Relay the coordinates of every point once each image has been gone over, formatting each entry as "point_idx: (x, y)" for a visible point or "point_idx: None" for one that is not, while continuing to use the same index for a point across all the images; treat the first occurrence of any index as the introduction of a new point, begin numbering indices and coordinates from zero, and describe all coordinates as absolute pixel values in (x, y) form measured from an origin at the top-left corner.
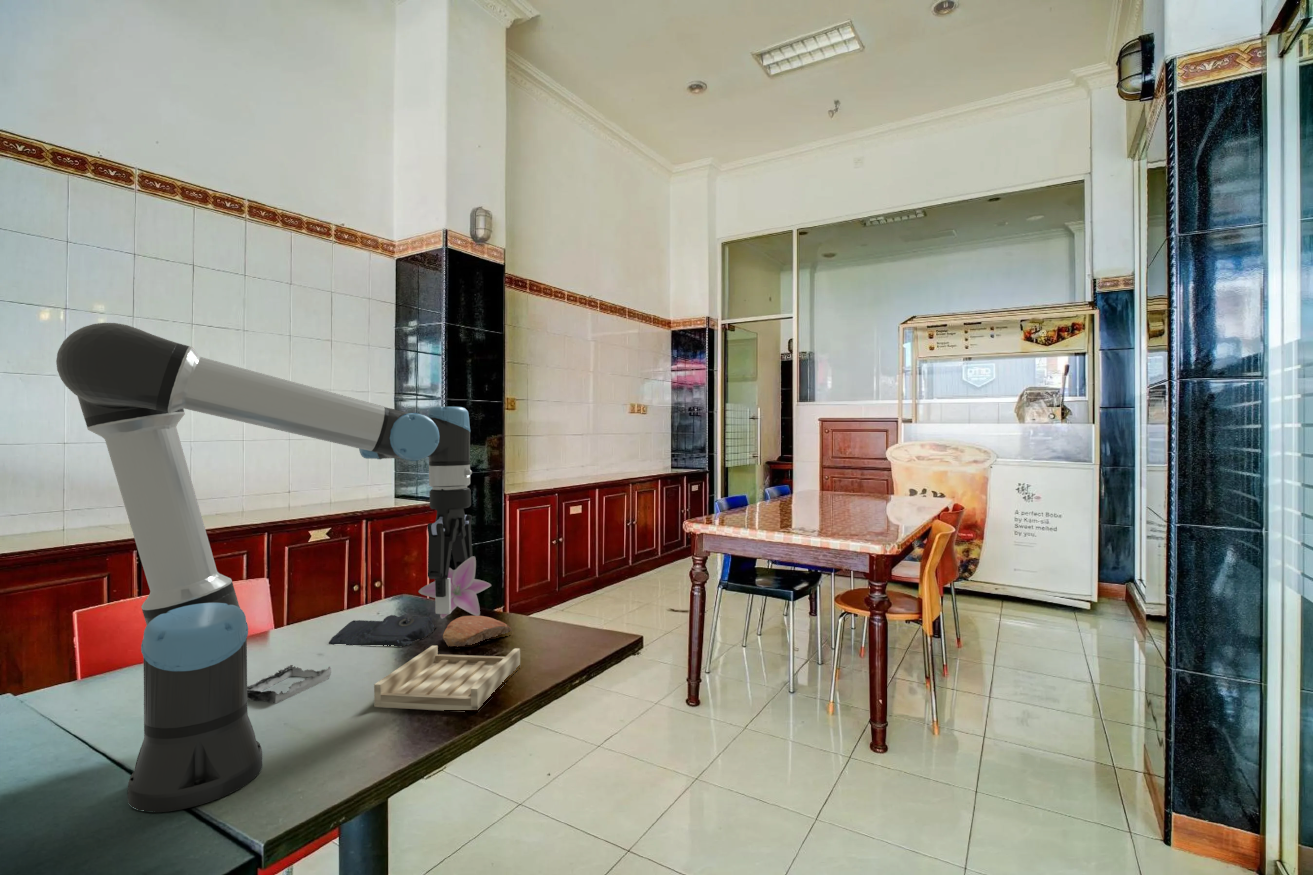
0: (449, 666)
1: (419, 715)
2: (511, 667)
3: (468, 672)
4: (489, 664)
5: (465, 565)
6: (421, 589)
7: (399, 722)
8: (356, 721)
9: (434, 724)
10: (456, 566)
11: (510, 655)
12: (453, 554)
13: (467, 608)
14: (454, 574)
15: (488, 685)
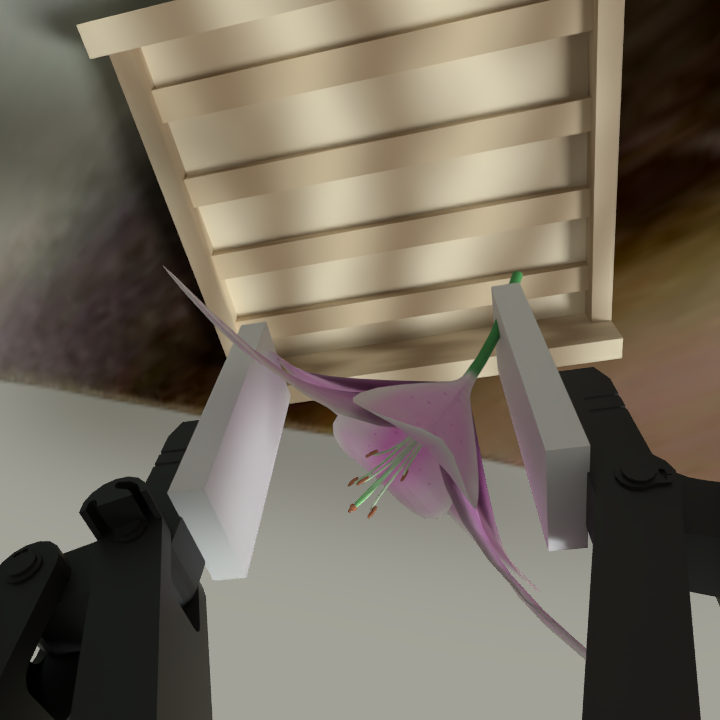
0: (533, 70)
1: (154, 234)
2: None
3: (451, 224)
4: (576, 230)
5: (539, 609)
6: (185, 286)
7: (89, 208)
8: (8, 54)
9: (136, 311)
10: (595, 495)
11: None
12: (588, 635)
13: (355, 459)
14: (450, 494)
15: None
